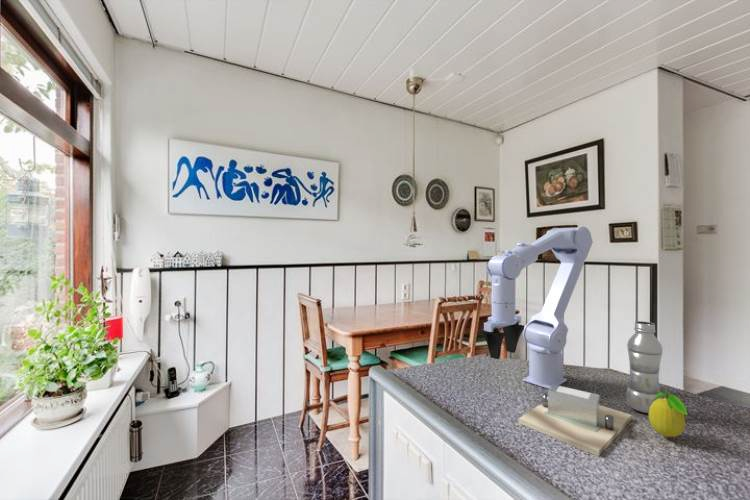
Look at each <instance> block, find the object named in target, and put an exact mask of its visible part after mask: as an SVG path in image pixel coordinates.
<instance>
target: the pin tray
mask: <svg viewBox="0 0 750 500" xmlns="http://www.w3.org/2000/svg"><path fill="white" fill-rule="evenodd" d="M632 415H633V414H629V413H627V412H623V411H620V410H616V409H613V408H610V407H607V406H604V405H601V404H599V420H598V424H597V427H595V426H592V425H588V424H585V423H581V422H577V421H574V420H570V419H567V418H563V417H560V416H556V415H553V414H549V413H548V393H543V394H542V402H541V403H540V404H538V405H537V406H535V407H534V408H532V409H530V410H529V411H527V412H526V413H525V414H523V415H521V416H520V417H519V418H518V424H519V425H523V426H524V427H527V428H528V429H529V428H530V429H532V430H534V431H536V432H539V433H542V434H544V435H545V436H549V437H551V438H554V439H556V440H558V441H560V442H563V443H565V444H568V445H570V446H572V447H575V448H577V449H579V450H582V451H584V452H586V453H590V454H592V455H594V456H596V457H600V456H601V454H603V453H604V451H605V450H607V448H608V447H609V446H610V445H611V444H612V442H613V441H614V440H615V439H616V438H617V437H618V436H619V435H620V433H621V432H623V430H624V429H625V428H626V427H627V425H629V423H630V422H631V421H632V419H633V416H632Z"/></svg>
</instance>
